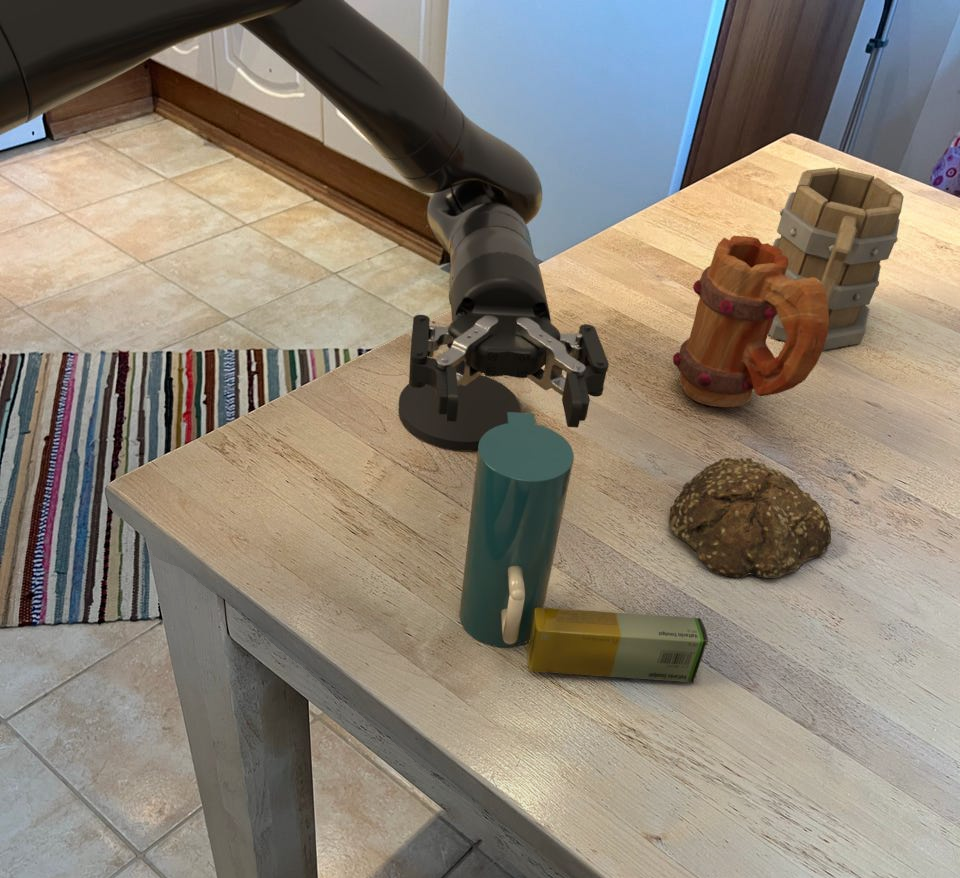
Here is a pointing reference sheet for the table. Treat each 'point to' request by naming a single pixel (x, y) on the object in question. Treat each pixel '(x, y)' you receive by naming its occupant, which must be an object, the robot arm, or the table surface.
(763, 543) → the bread roll
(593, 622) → the medication box
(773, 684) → the table surface
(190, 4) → the robot arm
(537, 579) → the jug
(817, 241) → the tankard
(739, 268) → the mug
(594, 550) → the table surface
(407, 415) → the disc
